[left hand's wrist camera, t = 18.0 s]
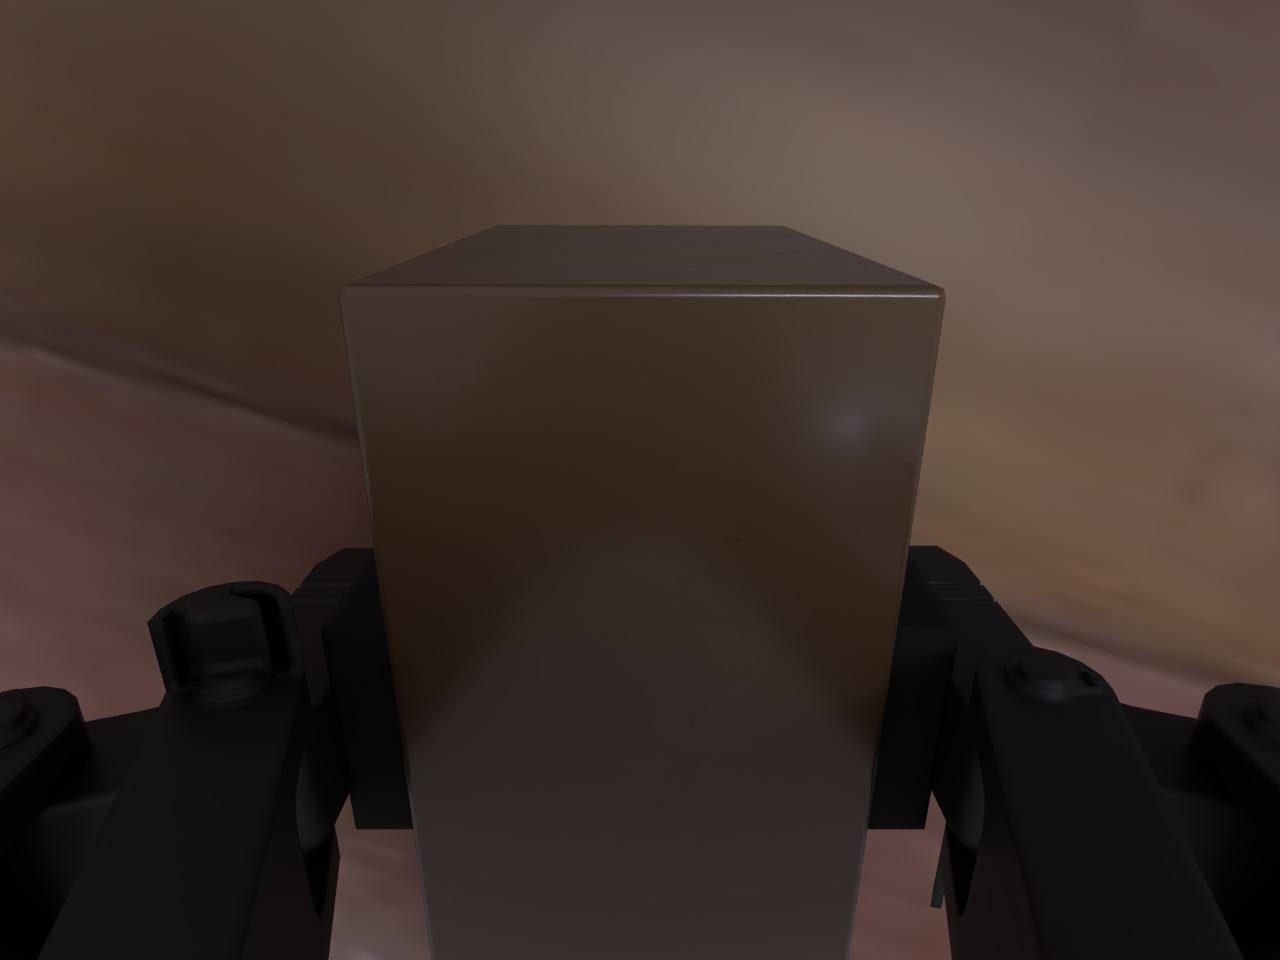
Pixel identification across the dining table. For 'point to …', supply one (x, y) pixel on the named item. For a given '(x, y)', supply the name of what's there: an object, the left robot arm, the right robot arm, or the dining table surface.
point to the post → (641, 577)
